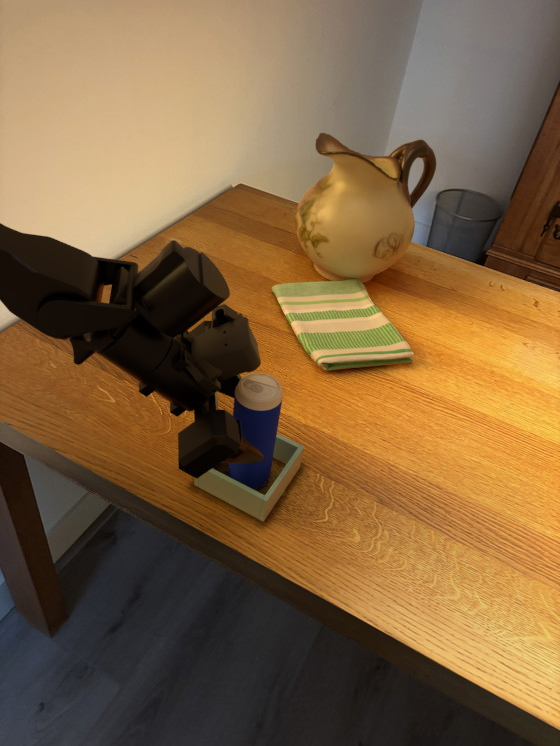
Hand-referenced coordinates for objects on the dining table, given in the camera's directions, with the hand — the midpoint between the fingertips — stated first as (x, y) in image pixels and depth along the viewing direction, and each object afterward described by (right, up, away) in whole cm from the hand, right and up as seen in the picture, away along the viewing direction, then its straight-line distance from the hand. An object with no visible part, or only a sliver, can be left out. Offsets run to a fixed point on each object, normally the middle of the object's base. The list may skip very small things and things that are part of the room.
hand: (255, 428), depth 62 cm
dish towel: (+13, +14, +32) cm, 38 cm away
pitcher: (+16, +27, +48) cm, 57 cm away
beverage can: (-1, -7, +6) cm, 9 cm away
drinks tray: (-1, -6, +6) cm, 9 cm away
